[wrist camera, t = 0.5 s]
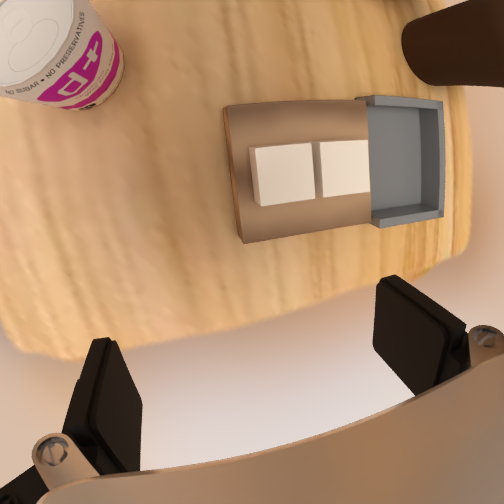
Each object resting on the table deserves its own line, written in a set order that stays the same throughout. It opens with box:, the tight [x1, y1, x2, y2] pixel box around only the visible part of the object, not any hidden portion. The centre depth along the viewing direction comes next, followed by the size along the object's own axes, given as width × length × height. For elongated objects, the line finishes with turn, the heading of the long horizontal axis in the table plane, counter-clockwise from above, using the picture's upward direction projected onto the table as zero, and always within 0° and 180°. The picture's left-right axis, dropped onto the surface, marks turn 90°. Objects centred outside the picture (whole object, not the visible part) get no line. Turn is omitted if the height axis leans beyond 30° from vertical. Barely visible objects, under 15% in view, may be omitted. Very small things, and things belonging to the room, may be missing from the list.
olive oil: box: [402, 0, 504, 87], centre depth 19 cm, size 11×11×25 cm
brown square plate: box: [223, 100, 371, 244], centre depth 31 cm, size 13×14×3 cm
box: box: [355, 95, 445, 228], centre depth 33 cm, size 14×10×4 cm
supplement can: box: [0, 0, 124, 111], centre depth 18 cm, size 8×8×15 cm
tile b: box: [309, 139, 370, 198], centre depth 29 cm, size 5×5×2 cm
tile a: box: [249, 142, 315, 206], centre depth 28 cm, size 5×5×2 cm
